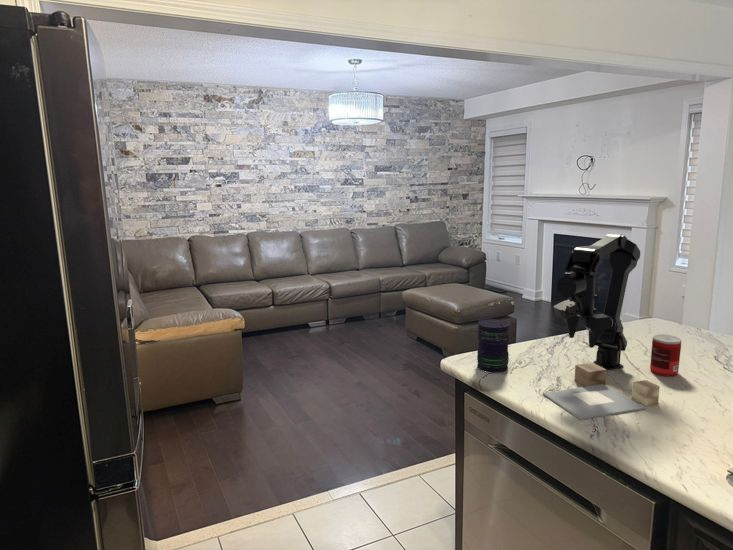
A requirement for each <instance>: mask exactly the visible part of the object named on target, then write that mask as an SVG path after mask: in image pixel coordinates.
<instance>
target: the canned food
mask: <svg viewBox="0 0 733 550" xmlns="http://www.w3.org/2000/svg"><path fill="white" fill-rule="evenodd" d="M681 349H682V339H681V338H680V337H677V336H676V335H675V336H674V335H671V334H664V333H663V334H662V333H661V334H660V333H659V334H655V335H653V336H652V341H651V351H650V353H651V354H650V365H649V370H650V371H651V372H652V373H653V374H655V375H657V374H658V376H661V375H662V377H675V376H677V375H678V373H679V368H680V361H681V360H680V358H681Z"/></svg>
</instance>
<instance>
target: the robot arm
mask: <svg viewBox="0 0 733 550" xmlns="http://www.w3.org/2000/svg"><path fill="white" fill-rule="evenodd" d="M607 256H608V264H609V266H610V268H611V275H610V279H609V280H610V281H609V284H608V285H609V286H608V289H607V290H608V291H607V296H606V299H605V305H604V309H603V313H598V309H597V308H595V300H598V297H599V295H598V294H596V293H595V292H596V276H597V275H598V274H599V271H598V269H599V268H600V267H599V266H601V264H602V263H603V259H604V258H605V257H607ZM640 258H641V250H640V248H639V247H638V245H637V244H636V243H635V242H633V241H631V240H630V239H628V238H627V236H626V235H624V234H619V233H609V234H606V236H605V237H603V238H601V239H600V240H598V241H596V242H594V243H592V244H591V245H584V246H583V245H581V246H577V247H575V248H574V249H572V251H571V252H570V255H569V257H568V260H567V262H566V265H565V268H564V270H563V271H564V273H563V277H561V278H560V279H559V280H558V281H557V283H556V290H557V293H558V294H559V295H560V296H561V297H563V298H568V299H566V300H563V301H561V302H558V303H557V304H555V305H553V308H554V309H553V310H554V313H555V316H556V317H557V318H560V319H561V320H564V323H565V327H566V330H567V333H568V336H569V338H571V339H572V338H573V339H574V337H575V334H576V332H577V328H578V324H579V321H580V318H582V319H584V320H585V325H584V327H585V329H586V330H587V331H588V347H589V348H590V349H591V348H595V346H597V350H596V359H595V360H593V363H594V364H596V365H598V366H600V367H602V368H604V369H606V370H613V369H619V368H624V365H623V364H621V353H622V351H623V352H625V351H626V349H627V347H628V340H627V339H626V337H625V334H624V326H623V324H622V321H621V314H622V309H623V305H624V304H623V303H624V299H625V298H624V297H625V295H626V294H625V293H626V289H627V286H628V279H629V275H630V273H632V271H633V270H634V269H635V268H636V267H637V264H638V261H639V260H640Z"/></svg>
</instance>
